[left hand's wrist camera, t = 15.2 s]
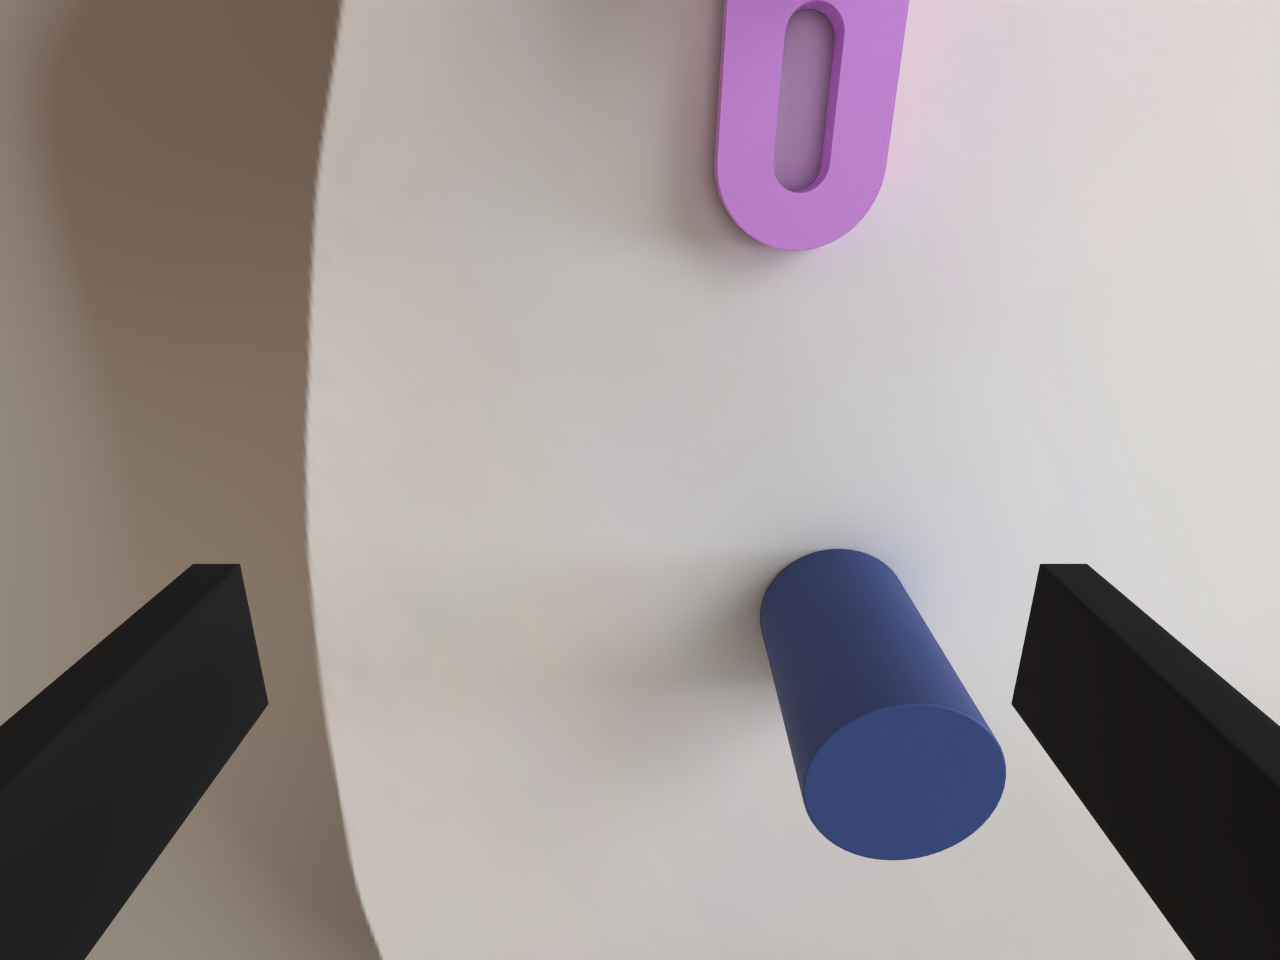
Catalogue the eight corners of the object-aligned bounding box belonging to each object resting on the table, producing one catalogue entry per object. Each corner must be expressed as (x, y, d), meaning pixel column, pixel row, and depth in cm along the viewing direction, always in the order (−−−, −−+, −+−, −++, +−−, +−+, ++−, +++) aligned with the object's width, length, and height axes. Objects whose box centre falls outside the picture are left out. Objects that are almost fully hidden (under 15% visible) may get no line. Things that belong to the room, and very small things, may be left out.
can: (729, 623, 34) (761, 798, 25) (829, 520, 32) (905, 667, 23) (835, 697, 35) (903, 889, 26) (936, 603, 34) (1050, 774, 24)
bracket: (737, -211, 23) (771, -359, 17) (924, -205, 23) (1031, -351, 17) (709, 244, 28) (727, 267, 21) (863, 249, 28) (928, 273, 21)
